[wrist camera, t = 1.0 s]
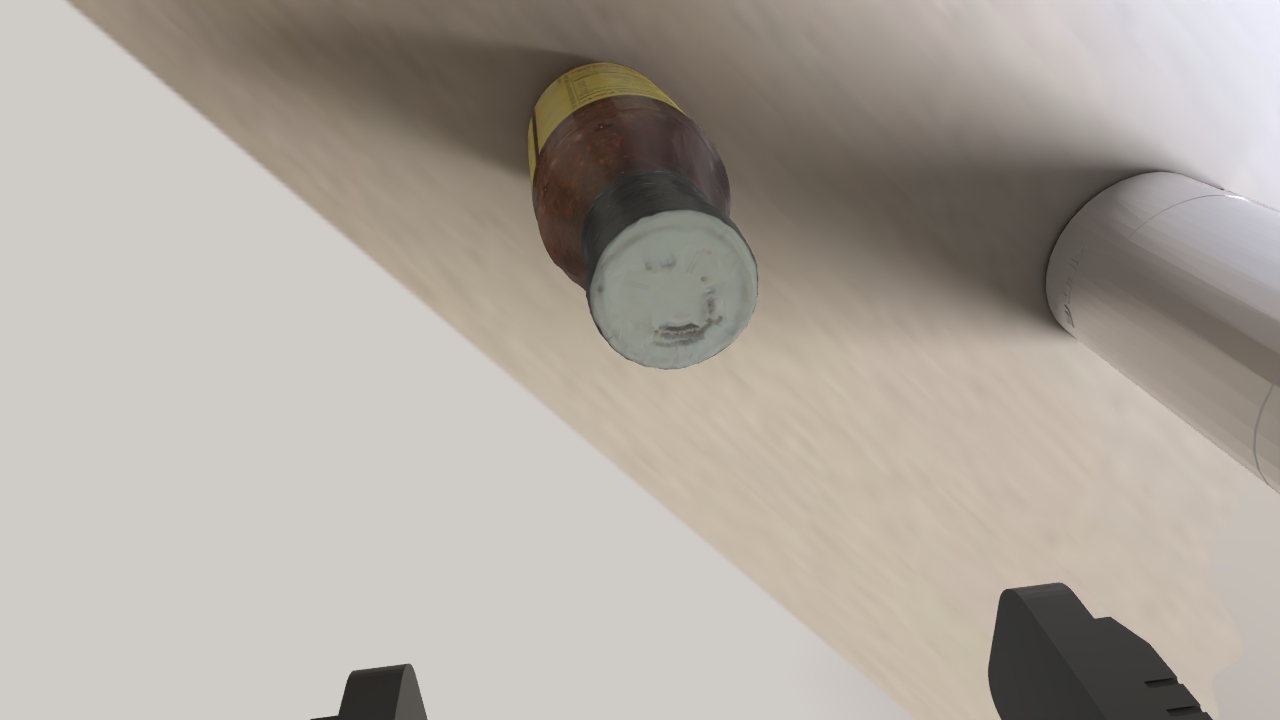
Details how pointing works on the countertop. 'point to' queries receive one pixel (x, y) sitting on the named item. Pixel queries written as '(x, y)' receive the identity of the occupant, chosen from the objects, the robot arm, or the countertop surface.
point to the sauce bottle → (639, 216)
